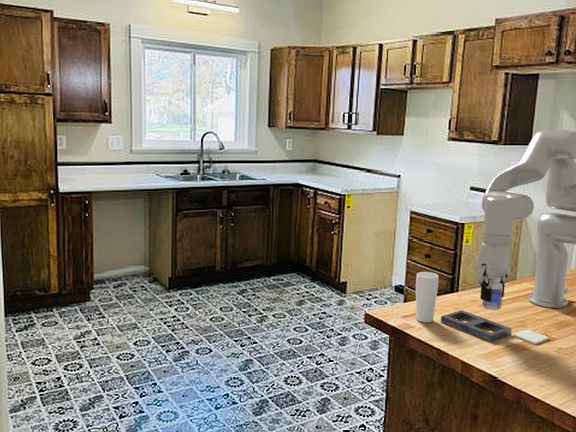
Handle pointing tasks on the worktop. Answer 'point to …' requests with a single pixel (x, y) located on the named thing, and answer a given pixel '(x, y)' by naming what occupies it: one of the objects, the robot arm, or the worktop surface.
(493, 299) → the pill bottle
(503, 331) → the grey double square frame
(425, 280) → the drinking glass
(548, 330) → the worktop surface
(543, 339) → the tile
